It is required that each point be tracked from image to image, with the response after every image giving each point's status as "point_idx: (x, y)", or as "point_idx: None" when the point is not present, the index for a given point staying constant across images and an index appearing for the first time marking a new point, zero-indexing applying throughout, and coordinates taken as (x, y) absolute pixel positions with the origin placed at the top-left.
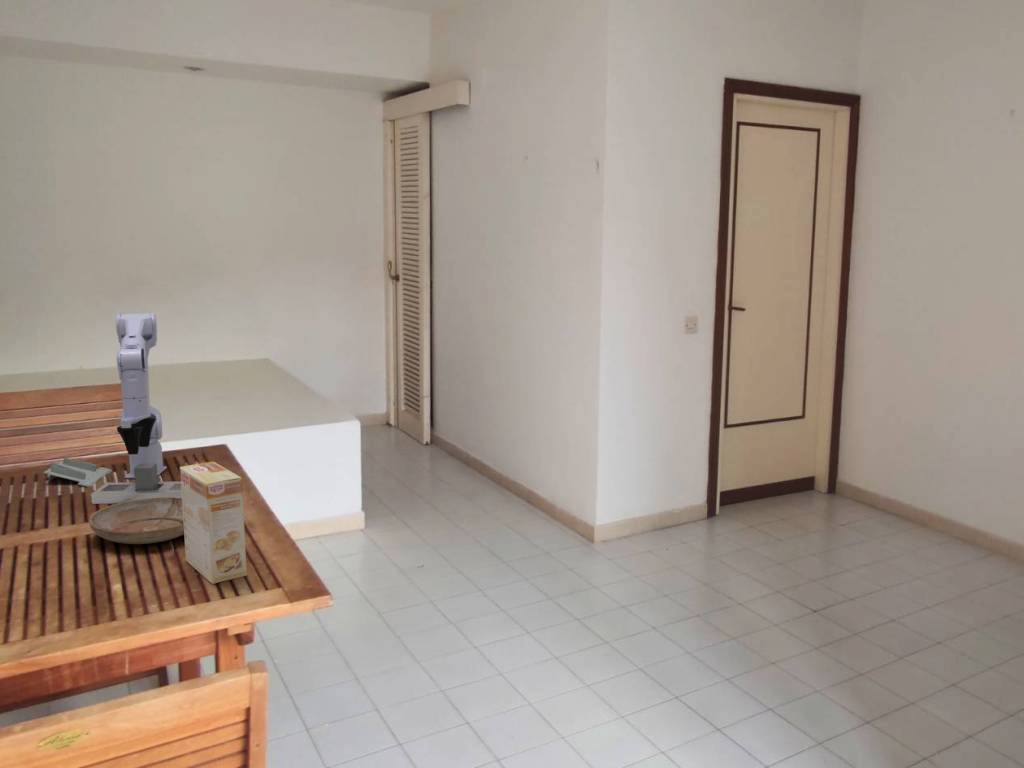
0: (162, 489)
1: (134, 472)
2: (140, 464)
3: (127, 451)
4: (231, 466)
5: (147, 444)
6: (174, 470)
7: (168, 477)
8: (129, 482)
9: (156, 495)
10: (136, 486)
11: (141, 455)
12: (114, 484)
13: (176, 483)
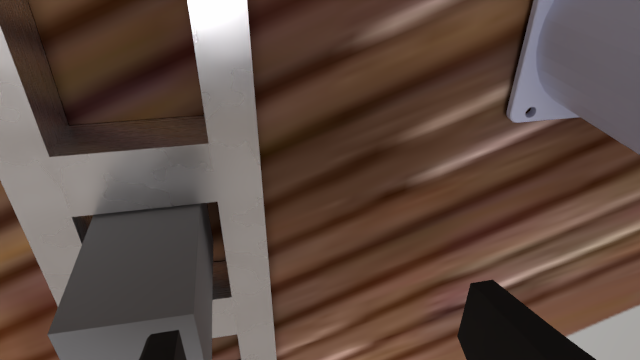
0: None
1: (58, 307)
2: (171, 326)
3: (142, 358)
4: (586, 324)
5: (468, 354)
6: (621, 150)
7: (503, 171)
8: (252, 114)
9: None
10: (89, 237)
11: (637, 104)
12: (197, 29)
13: (239, 338)
